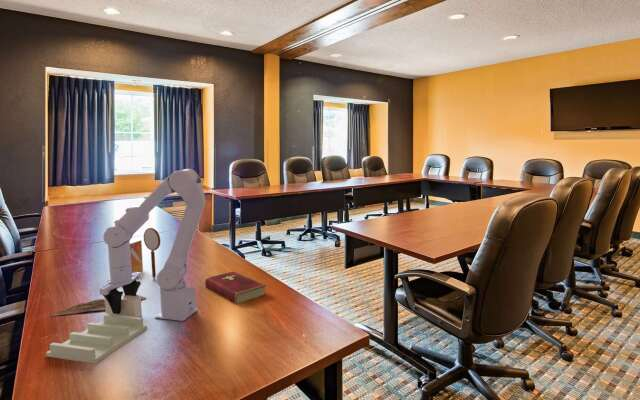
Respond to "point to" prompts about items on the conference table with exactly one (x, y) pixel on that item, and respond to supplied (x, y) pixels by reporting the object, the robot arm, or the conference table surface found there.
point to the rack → (98, 339)
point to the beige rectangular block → (127, 306)
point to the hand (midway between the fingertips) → (123, 309)
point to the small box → (136, 255)
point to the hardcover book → (235, 286)
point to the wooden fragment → (86, 307)
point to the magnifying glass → (152, 245)
